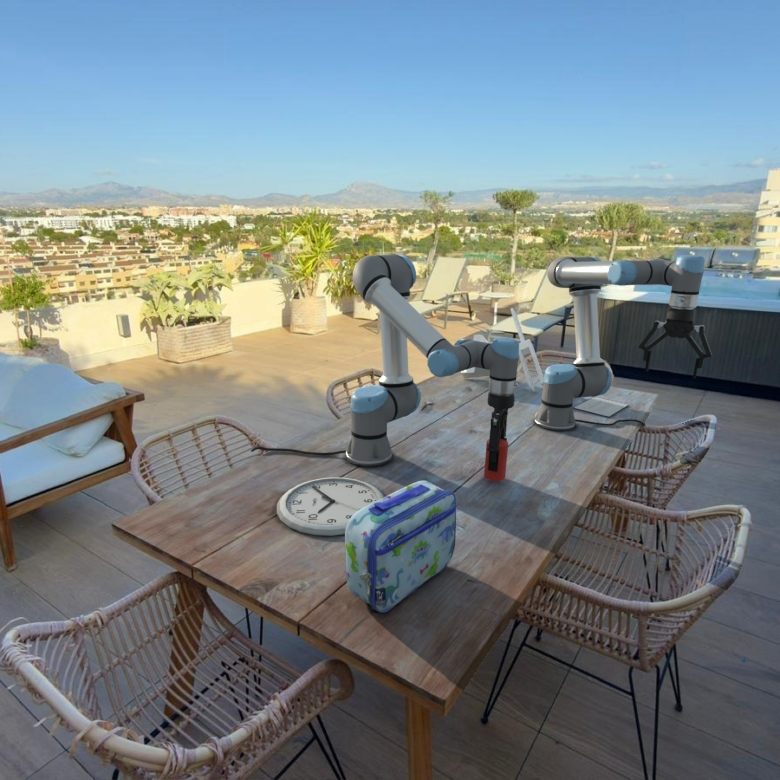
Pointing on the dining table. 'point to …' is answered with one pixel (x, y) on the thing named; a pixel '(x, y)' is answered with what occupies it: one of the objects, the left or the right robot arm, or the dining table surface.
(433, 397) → the fork
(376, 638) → the dining table surface
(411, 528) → the lunch box
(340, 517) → the wall clock
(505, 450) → the can
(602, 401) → the invitation card
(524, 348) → the white plastic object
